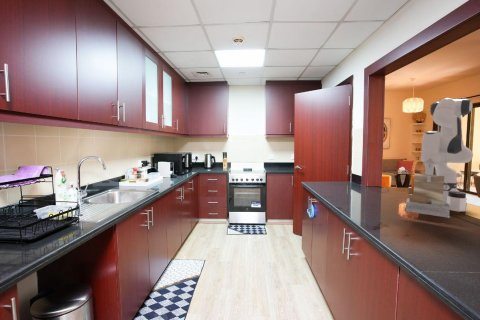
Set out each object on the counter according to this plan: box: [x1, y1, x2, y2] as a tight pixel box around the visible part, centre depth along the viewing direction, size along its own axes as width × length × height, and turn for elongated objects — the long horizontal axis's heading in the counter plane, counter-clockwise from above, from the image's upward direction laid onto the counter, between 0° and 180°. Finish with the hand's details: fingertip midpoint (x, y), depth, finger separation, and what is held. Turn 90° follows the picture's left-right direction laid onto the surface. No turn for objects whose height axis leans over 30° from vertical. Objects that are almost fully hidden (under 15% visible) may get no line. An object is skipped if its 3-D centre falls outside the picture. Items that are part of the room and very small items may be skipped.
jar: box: [447, 191, 468, 212], centre depth 147 cm, size 9×8×12 cm
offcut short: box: [431, 200, 445, 206], centre depth 140 cm, size 2×6×7 cm, turn 52°
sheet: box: [413, 173, 444, 203], centre depth 145 cm, size 2×14×18 cm, turn 52°
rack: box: [405, 198, 451, 219], centre depth 144 cm, size 16×20×6 cm
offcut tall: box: [409, 193, 427, 203], centre depth 145 cm, size 2×8×9 cm, turn 52°
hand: (428, 181), depth 145 cm, fingers closed on sheet, 2 cm apart
